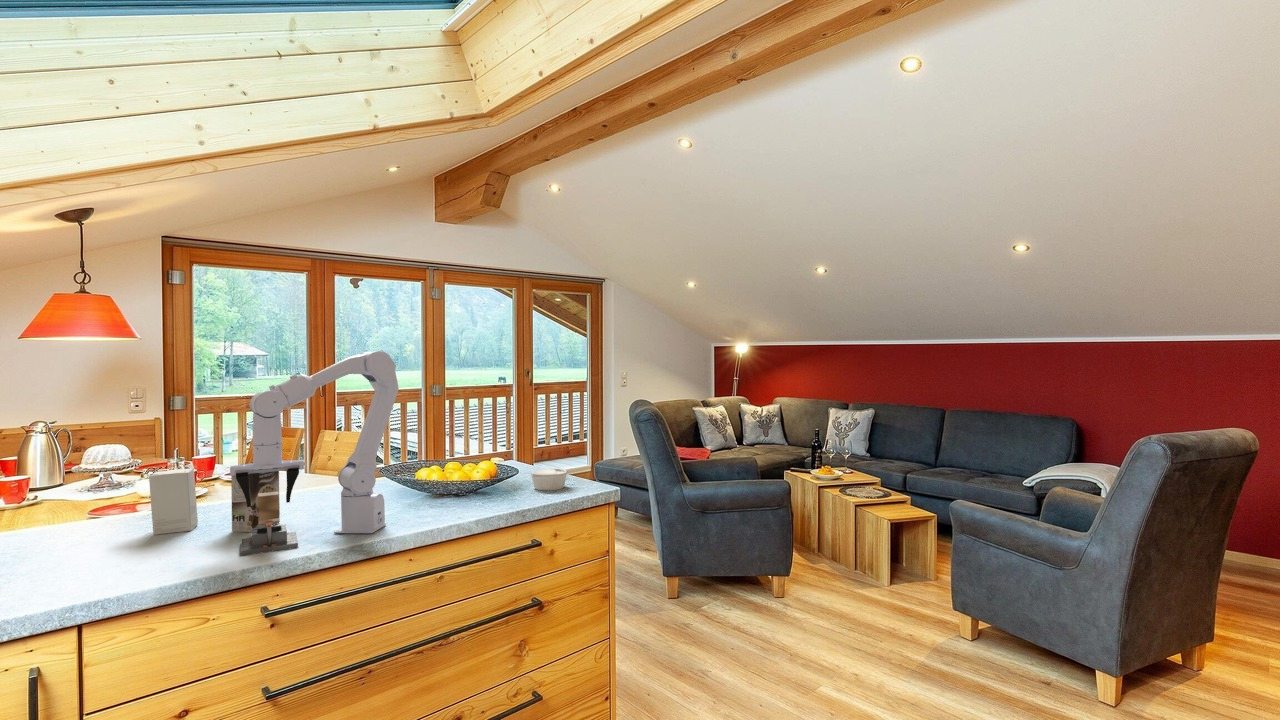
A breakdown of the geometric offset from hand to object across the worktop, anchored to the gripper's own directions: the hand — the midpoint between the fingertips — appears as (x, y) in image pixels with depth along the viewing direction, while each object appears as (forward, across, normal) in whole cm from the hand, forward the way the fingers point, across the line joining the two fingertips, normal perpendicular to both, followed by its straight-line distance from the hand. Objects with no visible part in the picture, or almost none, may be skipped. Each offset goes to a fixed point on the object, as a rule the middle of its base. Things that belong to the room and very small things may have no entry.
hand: (268, 503), depth 147 cm
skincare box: (+10, -20, +28) cm, 36 cm away
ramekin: (+10, +77, +24) cm, 82 cm away
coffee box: (+10, -3, +20) cm, 22 cm away
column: (+4, 0, 0) cm, 4 cm away
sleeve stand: (+9, 0, 0) cm, 9 cm away
